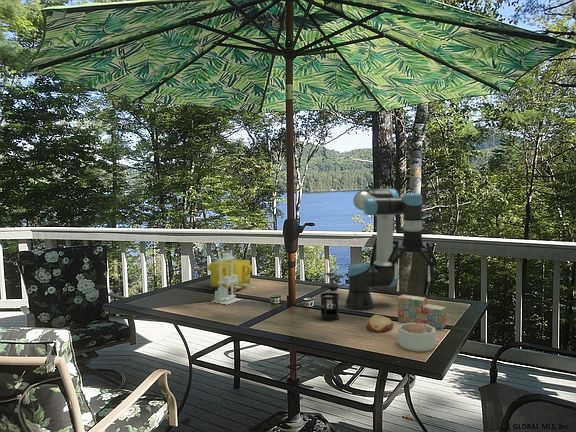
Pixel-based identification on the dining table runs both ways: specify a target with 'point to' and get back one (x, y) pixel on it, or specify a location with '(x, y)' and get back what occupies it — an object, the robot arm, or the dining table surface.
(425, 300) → the stack of blocks
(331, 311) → the french press
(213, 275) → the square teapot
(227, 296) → the machine
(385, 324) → the slice of bread
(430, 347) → the white bowl
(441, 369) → the dining table surface
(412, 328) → the toy ball
